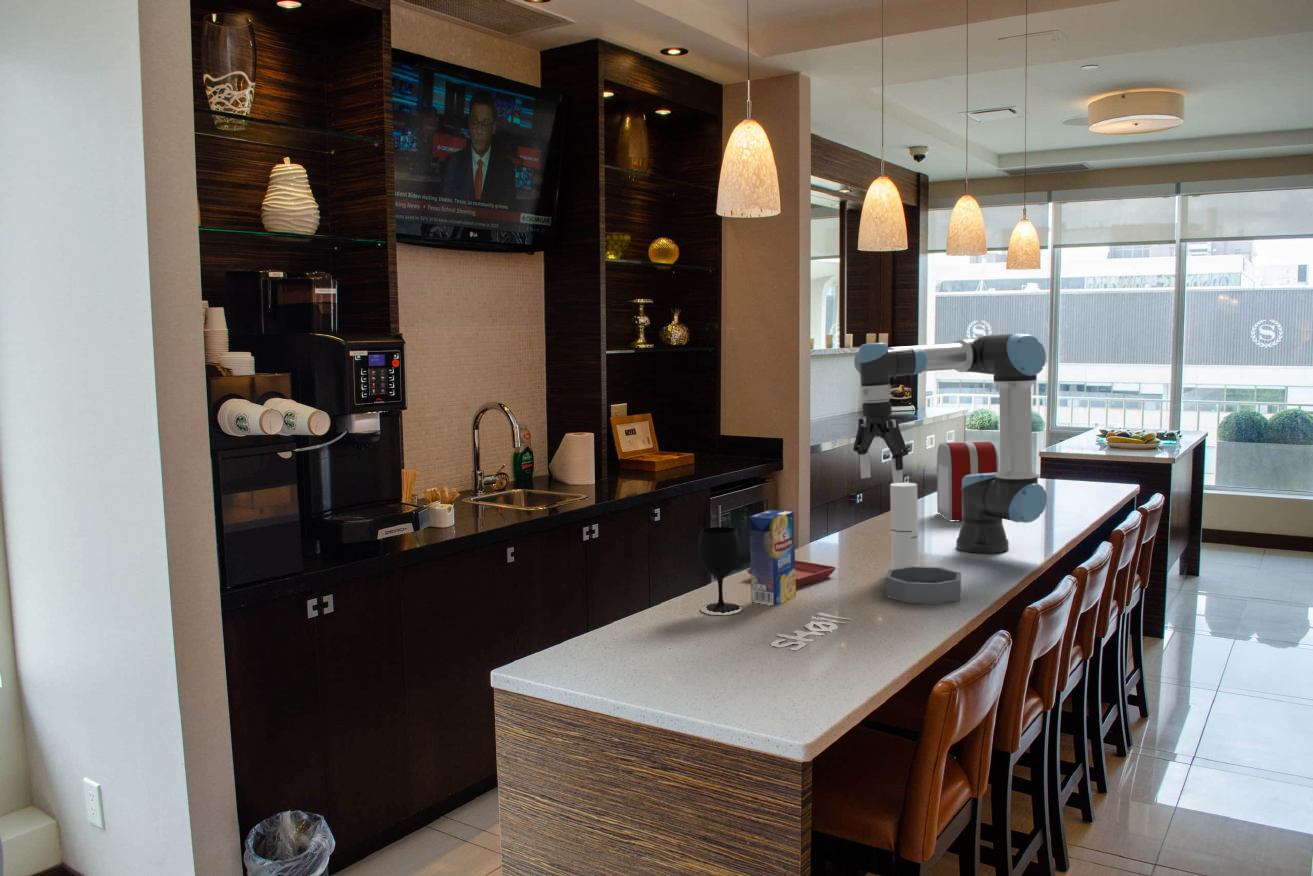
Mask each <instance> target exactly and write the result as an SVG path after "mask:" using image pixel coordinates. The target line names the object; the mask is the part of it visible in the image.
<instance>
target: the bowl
mask: <svg viewBox="0 0 1313 876" xmlns="http://www.w3.org/2000/svg"><path fill="white" fill-rule="evenodd" d="M886 595H887V596H890V597H891V598H890V597H889V598H890V599H893V598H895V599H894V600H896V599H898V600H897V601H899V600H901V601H900V602H902V601H904V602H903V603H905V602H912V603H911V604H918V603H925V604H924V605H942V604H945V603H951V602H956V601H961V598H962V572H958V571H957V570H956V571H955V570H952V569H948V568H944V567H937V566H935V567H934V566H918V567H917V566H910V567H904V568H898V569H892V568H891V569H888V570H887V573H886V575H885V596H886ZM887 596H886V597H887ZM941 603H942V604H941Z"/></svg>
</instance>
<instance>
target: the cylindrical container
mask: <svg viewBox="0 0 1313 876" xmlns="http://www.w3.org/2000/svg"><path fill="white" fill-rule="evenodd" d="M889 485H890V486H889V488H890V491H889V492H890V494H889V495H890V541H891V543H890V546H891V548H890V549H891V552H890V553H891V570H892V569H898V568H904V567H910V566H917V567H919V536H918V535H919V525H918V524H919V522H918V521H919V520H918V517H919V516H918V510H919V509H918V508H919V507H918V484H917V483H914V482H898V483H893V482H892V483H891V484H889Z"/></svg>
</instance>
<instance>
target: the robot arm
mask: <svg viewBox="0 0 1313 876" xmlns="http://www.w3.org/2000/svg"><path fill="white" fill-rule="evenodd" d="M1046 356H1047V355H1046V350H1045V347H1044V345H1043V343H1042V342H1041V341H1040V340H1039V339H1038V338H1037V337H1036V336H1034V335H1033V334H1028V333H1027V334H1026V333H1007V334H1006V333H1004V334H989V335H983V336H977V337H973V338H967V339H957V340H956V341H954V342H953V343H941V344H940V343H938V344H926V345H925V344H922V345H921V344H920V345H907V346H891V347H890V346H889V347H888V343H886V342H872V343H871V342H870V343H863V344H861V345H860V346H859V349H858V351H857V352H856V354H855V356H854V368H855V370H856V371H857V372H858V373H859V374H860V385H861V399H862V401H863V403H862V416H863V417H864V418H862V417H861V418H859V419H858V427H857V431H856V435H855V439H854V443H853V447H852V450H853V452H856V453H857V455H858V459H859V461H858V462H859V467H860V478H861V479H867V478H871V477H872V475H871V461H870V452H869V449H870V447H871V445H872V444H873V443H872V442H873V441H874V439H875V437H879V438H881V439H883V441H884V443H885V444H886V446H887V448H888V450H889V452H890V454H891V455H892V456H891V458H890V459H891V471H892V472H891V473H892V484H893V483H904V474H903V472H904V471H903V470H904V461H903V458H904V457H905V456H908V455H909V451H908V448H907V446H906V443H905V440H904V438H903V435H902V433H901V430H900V425H899V421H898V419H890V416H891V415H892V413H893V412H892V411H893V410H892V402H891V401H890V400H891V398H892V394H891V393H892V391H891V382H890V381H891V380H890V379H891V378H893V377H903V376H904V377H905V376H914V375H917V374H918V375H919V374H922V373H923V372H935V371H947V370H948V371H949V370H955V371H956V372H959V373H978V374H987V375H993V383H994V384H995V385H996V386H997V388H999V389H998V390H999V392H998V393H999V399H998V400H999V448H1000V449H999V462H1000V463H999V465H1000V467H999V472H998V473H981V474H971V475H966V476H964V477H963V479H962V487H961V492H962V521H961V527H960V529H959V532H958V537H957V538H956V541H955V543H956V544H955V548H956V549H957V550H960V551H962V552H966V551H967V553H972V552H974V554H999V553H1004V552H1006V551H1009V548H1010V546H1009V545H1010V544H1009V539H1008V538H1007V534H1006V530H1005V527H1004V525H1003V520H1007V521H1011V522H1014V523H1025V524H1027V523H1032V522H1035V521H1036V520H1037V519H1038V518H1039V517H1040V516H1041V514H1043V512H1044V511H1045V509H1046V506H1047V503H1048V502H1047V501H1048V496H1047V491H1046V489H1044V487H1043V486H1042V485H1041V484H1039V483H1038V482H1039V481H1038V474H1037V473H1036V471H1034V470H1033V459H1032V457H1033V455H1032V453H1033V451H1032V449H1033V448H1032V447H1033V443H1032V441H1033V440H1032V433H1033V432H1032V430H1033V429H1032V386H1033V385H1034V384H1035V383H1036V382H1037V379H1038V377H1037V376H1038V374H1039V373H1042V370H1044V368H1043V367H1045V364H1046V362H1047V361H1046V359H1047V357H1046ZM1003 551H1004V552H1003ZM998 552H999V553H998Z"/></svg>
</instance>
